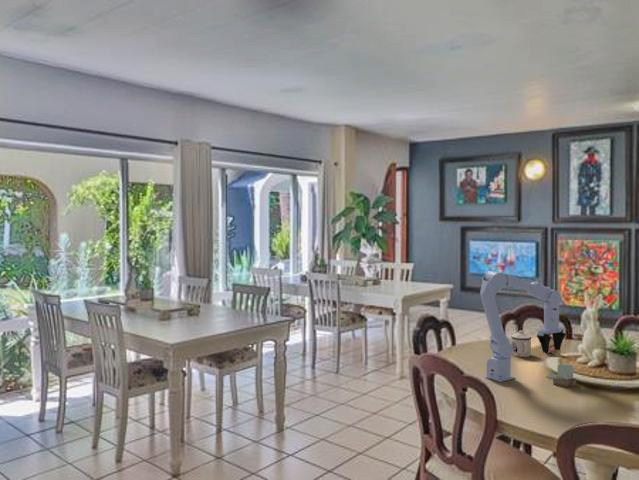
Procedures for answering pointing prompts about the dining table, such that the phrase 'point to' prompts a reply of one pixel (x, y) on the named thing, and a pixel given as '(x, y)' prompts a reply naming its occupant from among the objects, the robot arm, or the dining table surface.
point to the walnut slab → (564, 382)
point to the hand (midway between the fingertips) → (551, 350)
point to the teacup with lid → (521, 344)
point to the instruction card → (552, 376)
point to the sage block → (565, 371)
